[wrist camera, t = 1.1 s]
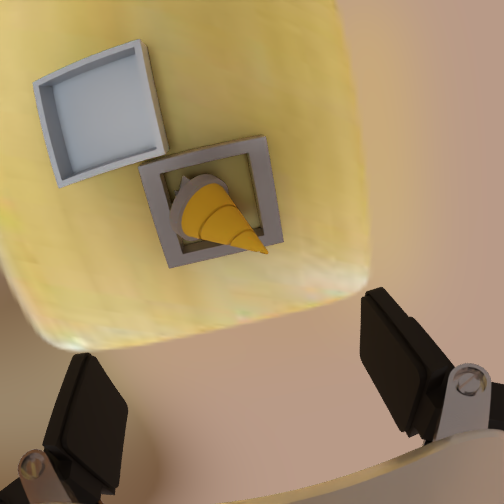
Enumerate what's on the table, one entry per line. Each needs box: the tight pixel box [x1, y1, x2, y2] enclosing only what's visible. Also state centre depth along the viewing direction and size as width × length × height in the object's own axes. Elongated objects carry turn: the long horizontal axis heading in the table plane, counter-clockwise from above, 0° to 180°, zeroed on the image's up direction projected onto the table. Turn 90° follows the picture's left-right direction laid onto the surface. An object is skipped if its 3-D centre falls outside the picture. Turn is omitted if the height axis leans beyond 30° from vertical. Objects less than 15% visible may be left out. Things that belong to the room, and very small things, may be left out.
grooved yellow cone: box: [170, 174, 268, 254], centre depth 24 cm, size 5×5×10 cm
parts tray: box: [33, 39, 170, 188], centre depth 21 cm, size 9×9×3 cm
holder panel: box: [138, 135, 284, 268], centre depth 26 cm, size 9×10×2 cm
